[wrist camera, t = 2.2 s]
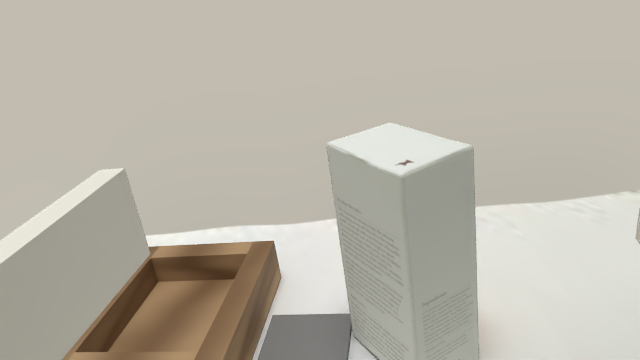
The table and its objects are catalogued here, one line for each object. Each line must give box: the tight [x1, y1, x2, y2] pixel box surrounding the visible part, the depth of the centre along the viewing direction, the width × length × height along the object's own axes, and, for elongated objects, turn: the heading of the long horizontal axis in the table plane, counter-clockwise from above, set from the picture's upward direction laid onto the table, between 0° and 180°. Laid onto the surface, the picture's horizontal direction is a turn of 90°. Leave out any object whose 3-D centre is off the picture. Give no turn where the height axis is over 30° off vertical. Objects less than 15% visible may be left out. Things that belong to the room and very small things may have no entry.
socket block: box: [62, 241, 281, 360], centre depth 30 cm, size 10×12×3 cm
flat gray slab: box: [258, 314, 352, 360], centre depth 29 cm, size 5×4×1 cm
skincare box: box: [326, 123, 479, 360], centre depth 25 cm, size 6×4×12 cm
